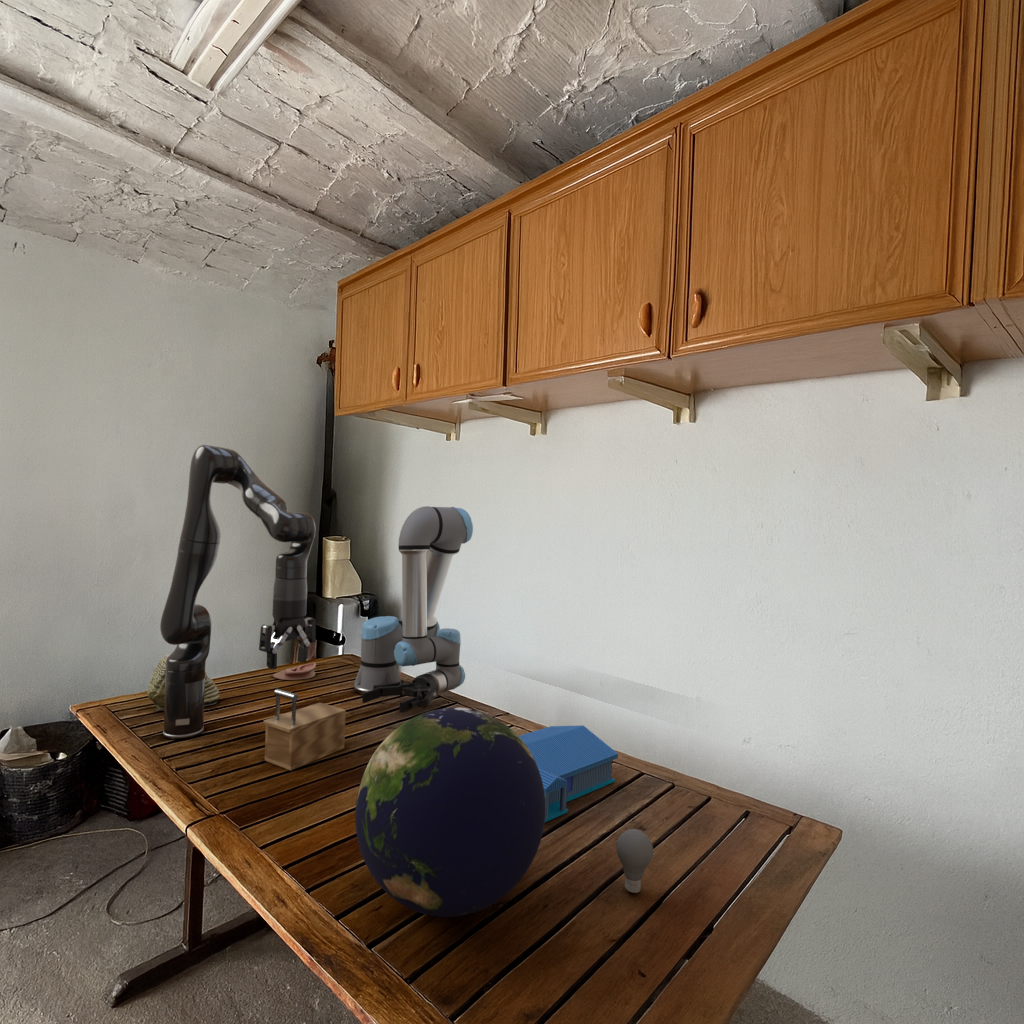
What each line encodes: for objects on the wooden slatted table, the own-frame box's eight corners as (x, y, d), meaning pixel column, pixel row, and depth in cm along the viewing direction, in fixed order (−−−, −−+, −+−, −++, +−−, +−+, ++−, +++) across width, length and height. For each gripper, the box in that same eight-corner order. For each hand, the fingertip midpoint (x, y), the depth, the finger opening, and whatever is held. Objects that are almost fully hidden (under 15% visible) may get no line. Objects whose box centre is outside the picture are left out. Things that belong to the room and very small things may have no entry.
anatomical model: (267, 666, 215) (286, 658, 227) (267, 678, 215) (286, 669, 227) (303, 670, 213) (320, 662, 224) (303, 682, 213) (320, 673, 224)
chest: (290, 770, 146) (292, 732, 145) (264, 760, 150) (265, 723, 150) (344, 748, 160) (345, 713, 160) (318, 739, 165) (320, 705, 164)
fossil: (144, 707, 182) (145, 655, 182) (212, 696, 194) (213, 647, 194) (151, 716, 175) (153, 662, 175) (221, 703, 188) (223, 653, 188)
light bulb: (610, 879, 108) (613, 822, 108) (644, 879, 109) (647, 822, 109) (619, 902, 102) (622, 840, 102) (655, 901, 103) (658, 840, 103)
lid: (289, 733, 145) (290, 698, 145) (263, 724, 150) (264, 690, 150) (345, 713, 160) (346, 681, 159) (320, 705, 164) (321, 674, 164)
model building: (497, 843, 118) (499, 790, 118) (422, 794, 136) (424, 748, 136) (626, 786, 145) (628, 743, 144) (549, 751, 163) (551, 713, 163)
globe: (309, 928, 93) (317, 725, 93) (415, 832, 121) (421, 676, 120) (495, 996, 82) (506, 766, 81) (565, 873, 110) (572, 701, 109)
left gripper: (275, 602, 141) (272, 674, 141) (324, 595, 153) (322, 662, 153) (253, 598, 145) (251, 668, 145) (303, 591, 157) (301, 657, 157)
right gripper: (461, 705, 188) (416, 725, 170) (396, 689, 201) (348, 707, 183) (462, 680, 188) (417, 698, 170) (397, 666, 201) (349, 681, 182)
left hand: (287, 665), depth 149 cm, fingers open, 8 cm apart
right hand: (381, 703), depth 176 cm, fingers open, 13 cm apart
